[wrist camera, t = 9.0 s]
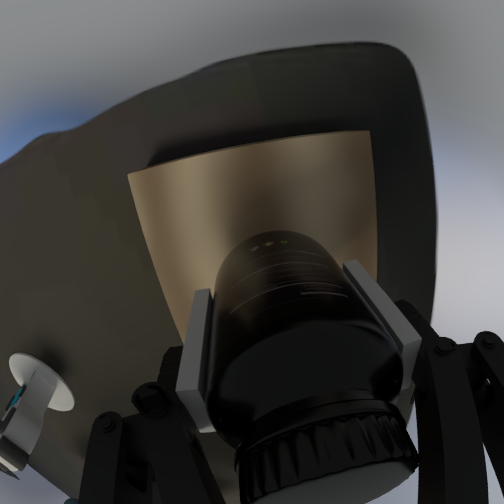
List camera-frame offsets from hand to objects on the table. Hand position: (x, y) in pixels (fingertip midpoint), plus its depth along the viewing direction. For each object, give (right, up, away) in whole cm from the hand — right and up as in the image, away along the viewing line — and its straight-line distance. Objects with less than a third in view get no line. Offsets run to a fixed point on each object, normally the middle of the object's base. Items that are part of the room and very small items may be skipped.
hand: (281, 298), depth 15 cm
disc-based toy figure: (-30, -16, +14) cm, 37 cm away
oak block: (-1, +3, +8) cm, 8 cm away
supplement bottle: (0, +1, +2) cm, 2 cm away
